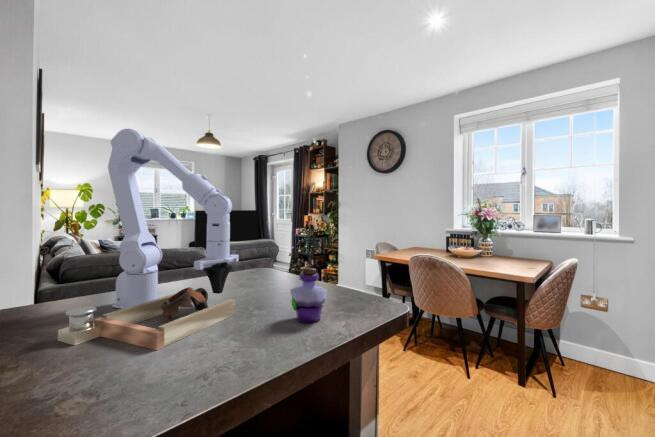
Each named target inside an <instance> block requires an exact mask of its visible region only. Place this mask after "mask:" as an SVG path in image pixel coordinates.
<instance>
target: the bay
mask: <svg viewBox="0 0 655 437" xmlns="http://www.w3.org/2000/svg"><path fill="white" fill-rule="evenodd" d="M174 294H175V293H173V294H170V295H167V296H163V297H160V298H158V299H155V300H152V301H148V302H145V303H141V304H138V305H134V306H131V307H127V308H124V309H120V308H119V309H117V310H114V311H111V312H108V313H106V312H105V313H104V314H102V315H101V317H98V318H93V323H94V325H98V326H101V336H100V337H101V338H102V337H103V338H106V339H110V340H115V341H119V342H122V343H127V344H130V345H133V346H138V347H142V348H146V349H150V350H154V351H159V350H160V349H163V348H165V347H168V346H170V345H172V344H174V343H176V342H178V341H180V340H182V339H184V338H186V337H189V336H191V335H193V334H196V333H198V332H200V331H201V330H205V329H207V328H208V327H211V326H212V325H215V324H218V323H219V322H221V321H223V320H225V319H228V318H231V317H233V316H235V315H236V311H237V310H236V309H237V308H236V307H237V305H236V303H237V302H236V301H237V300H236V299H235V298H230V299H229V298H228V299H227V300H225V301H222V302H219V303H217V304H214V305H211V306H208V308H206V309H203V310H200V311H196V312H193V313H190V314H188V315H186V316H182V317H179V318H177V319H174V320H172V321H169V322H167V323H163V324H161V325H159V326H158V328H156V327H155V328H154V327H149V326H145V325H141V324H138V323H141V322H143V321H147V320H149V319H152V318H155V317H158V316H162V315H163V310H162V308H161V305H162V304H163V303H164V302H167V304H169V303H170V302H169V301H168V299H169V298H170V297H172V296H173V295H174ZM182 308H183V307H180V306H179V307H178V310H179V309H182Z"/></svg>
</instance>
